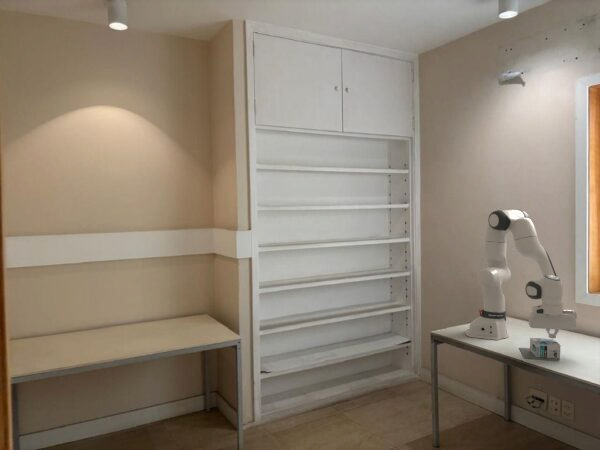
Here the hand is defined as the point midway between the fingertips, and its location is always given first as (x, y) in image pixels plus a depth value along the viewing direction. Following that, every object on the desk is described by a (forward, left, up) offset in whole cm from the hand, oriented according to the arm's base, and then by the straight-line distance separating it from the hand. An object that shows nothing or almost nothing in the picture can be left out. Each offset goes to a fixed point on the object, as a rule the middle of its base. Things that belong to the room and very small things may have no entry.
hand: (552, 337), depth 227 cm
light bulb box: (+2, 0, -5) cm, 5 cm away
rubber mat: (-7, 0, -8) cm, 11 cm away
